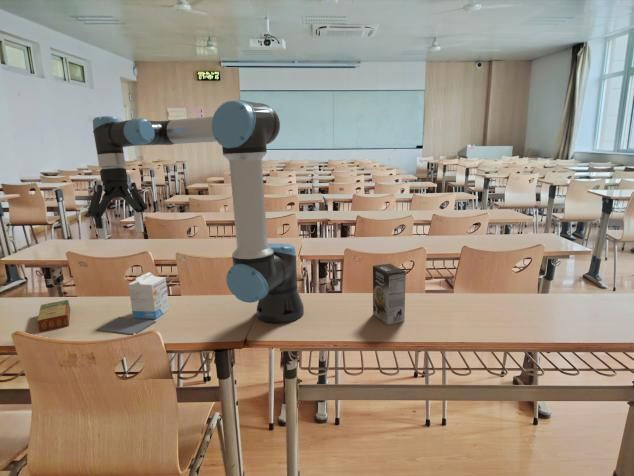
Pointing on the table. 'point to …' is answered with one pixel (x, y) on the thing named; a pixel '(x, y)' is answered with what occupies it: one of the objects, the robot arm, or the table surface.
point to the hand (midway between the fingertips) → (122, 235)
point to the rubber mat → (126, 325)
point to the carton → (54, 315)
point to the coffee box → (389, 293)
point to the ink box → (149, 296)
